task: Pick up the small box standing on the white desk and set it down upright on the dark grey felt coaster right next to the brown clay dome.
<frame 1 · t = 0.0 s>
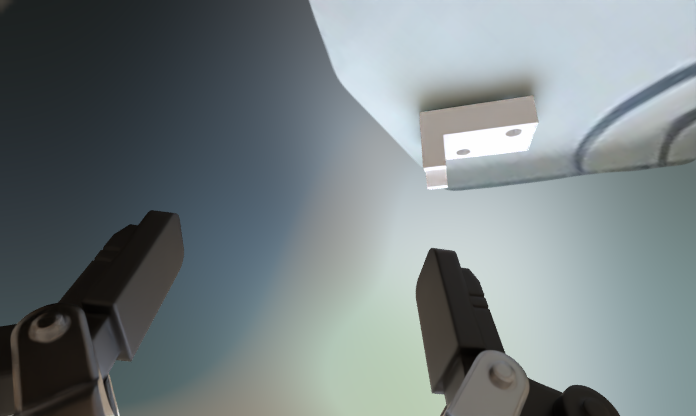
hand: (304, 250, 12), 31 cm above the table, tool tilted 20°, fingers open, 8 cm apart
bracket: (473, 124, 49), on the table
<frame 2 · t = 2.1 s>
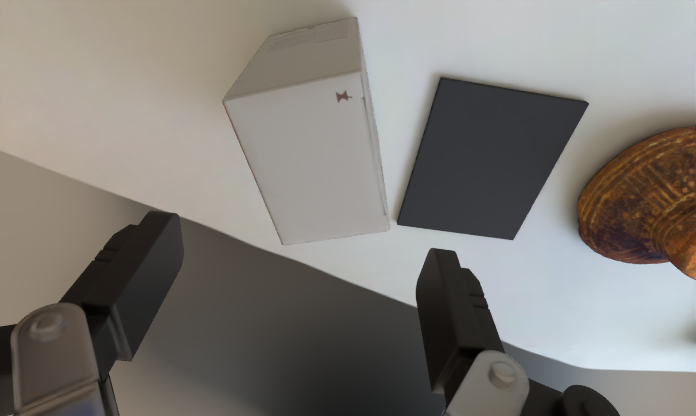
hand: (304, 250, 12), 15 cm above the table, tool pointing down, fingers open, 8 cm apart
coaster: (481, 168, 28), on the table
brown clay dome: (652, 192, 29), on the table
small box: (328, 89, 25), on the table
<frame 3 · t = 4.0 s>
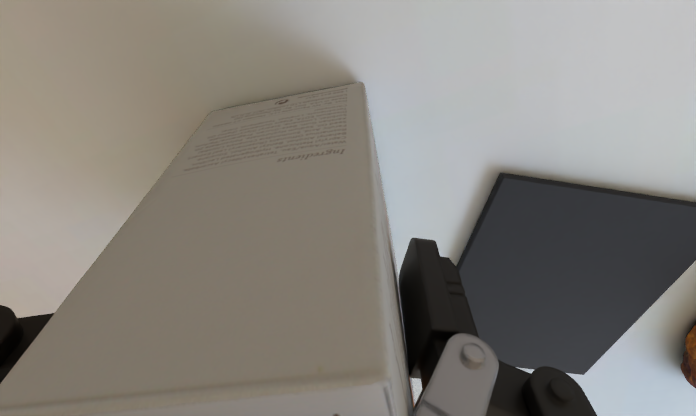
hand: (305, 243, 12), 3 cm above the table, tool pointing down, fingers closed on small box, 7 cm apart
coaster: (548, 291, 18), on the table
small box: (315, 186, 15), on the table, touching gripper
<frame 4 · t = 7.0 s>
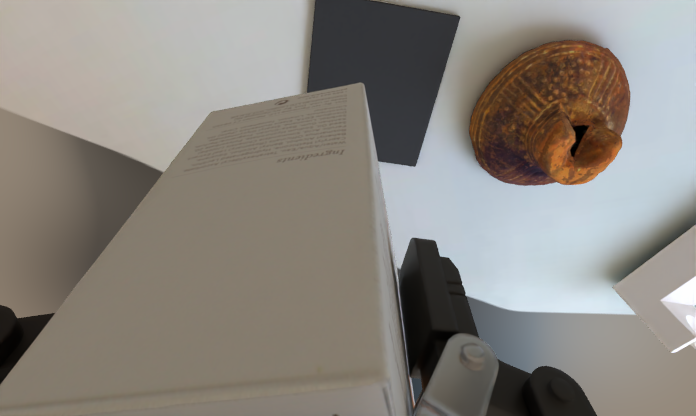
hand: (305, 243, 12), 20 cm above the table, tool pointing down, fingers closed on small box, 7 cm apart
coaster: (372, 89, 29), on the table
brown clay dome: (540, 115, 30), on the table
small box: (315, 186, 15), point 16 cm above the table, touching gripper
bracket: (686, 254, 39), on the table
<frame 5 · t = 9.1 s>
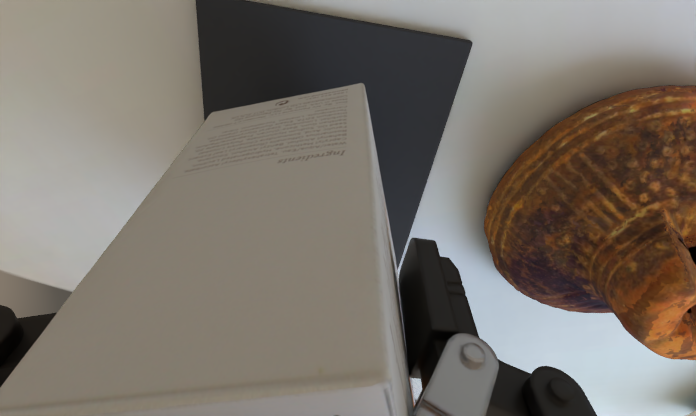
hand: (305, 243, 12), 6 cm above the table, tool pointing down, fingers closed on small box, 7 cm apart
coaster: (320, 160, 17), on the table
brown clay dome: (603, 200, 18), on the table
small box: (315, 186, 15), point 2 cm above the table, touching gripper
when the fingers open (4 cm above the table, at t = 10.4 s): small box stays where it is, resting on coaster.
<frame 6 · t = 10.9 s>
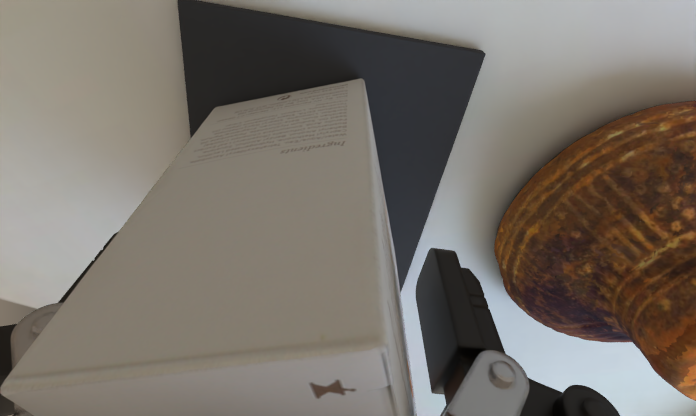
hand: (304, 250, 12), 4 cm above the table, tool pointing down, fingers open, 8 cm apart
coaster: (317, 178, 16), on the table
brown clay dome: (623, 220, 17), on the table
small box: (316, 180, 16), resting on coaster
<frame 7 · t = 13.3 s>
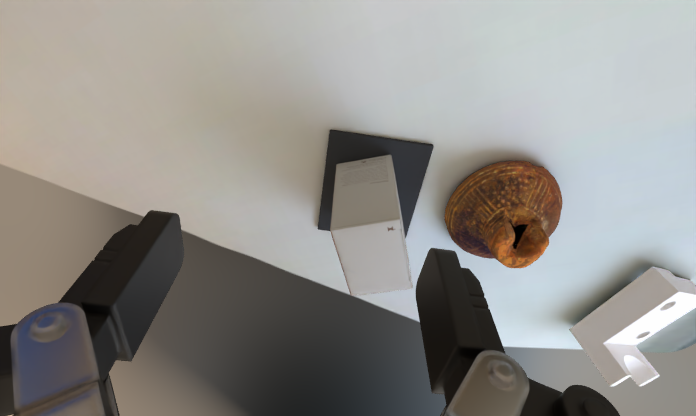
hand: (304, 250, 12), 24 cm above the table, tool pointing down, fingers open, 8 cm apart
coaster: (370, 189, 39), on the table
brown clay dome: (499, 206, 40), on the table
small box: (370, 190, 39), resting on coaster
bracket: (628, 304, 48), on the table
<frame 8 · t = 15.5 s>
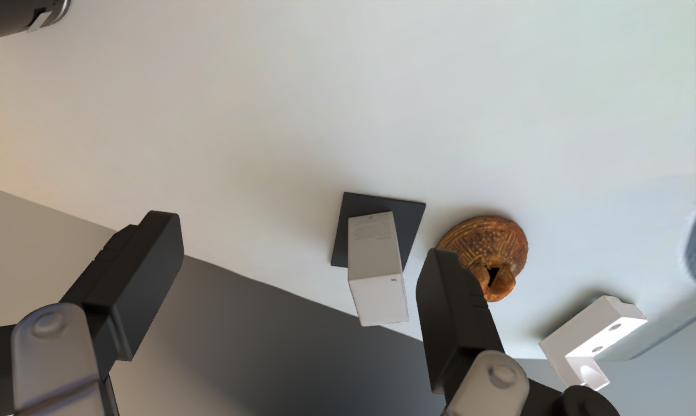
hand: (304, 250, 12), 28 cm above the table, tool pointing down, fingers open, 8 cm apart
coaster: (375, 235, 48), on the table
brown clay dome: (478, 248, 50), on the table
small box: (375, 236, 48), resting on coaster
bracket: (586, 323, 58), on the table
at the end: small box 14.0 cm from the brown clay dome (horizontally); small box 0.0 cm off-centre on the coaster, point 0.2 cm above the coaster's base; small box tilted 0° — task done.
